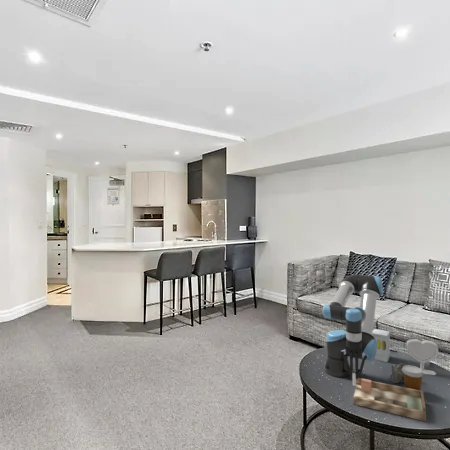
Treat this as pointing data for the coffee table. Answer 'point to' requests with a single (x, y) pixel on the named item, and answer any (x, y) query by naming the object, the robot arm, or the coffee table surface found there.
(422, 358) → the heart sculpture
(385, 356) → the supplement box
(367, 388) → the terracotta block
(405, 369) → the disposable coffee cup
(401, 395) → the box
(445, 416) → the coffee table surface
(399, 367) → the mineral rock
